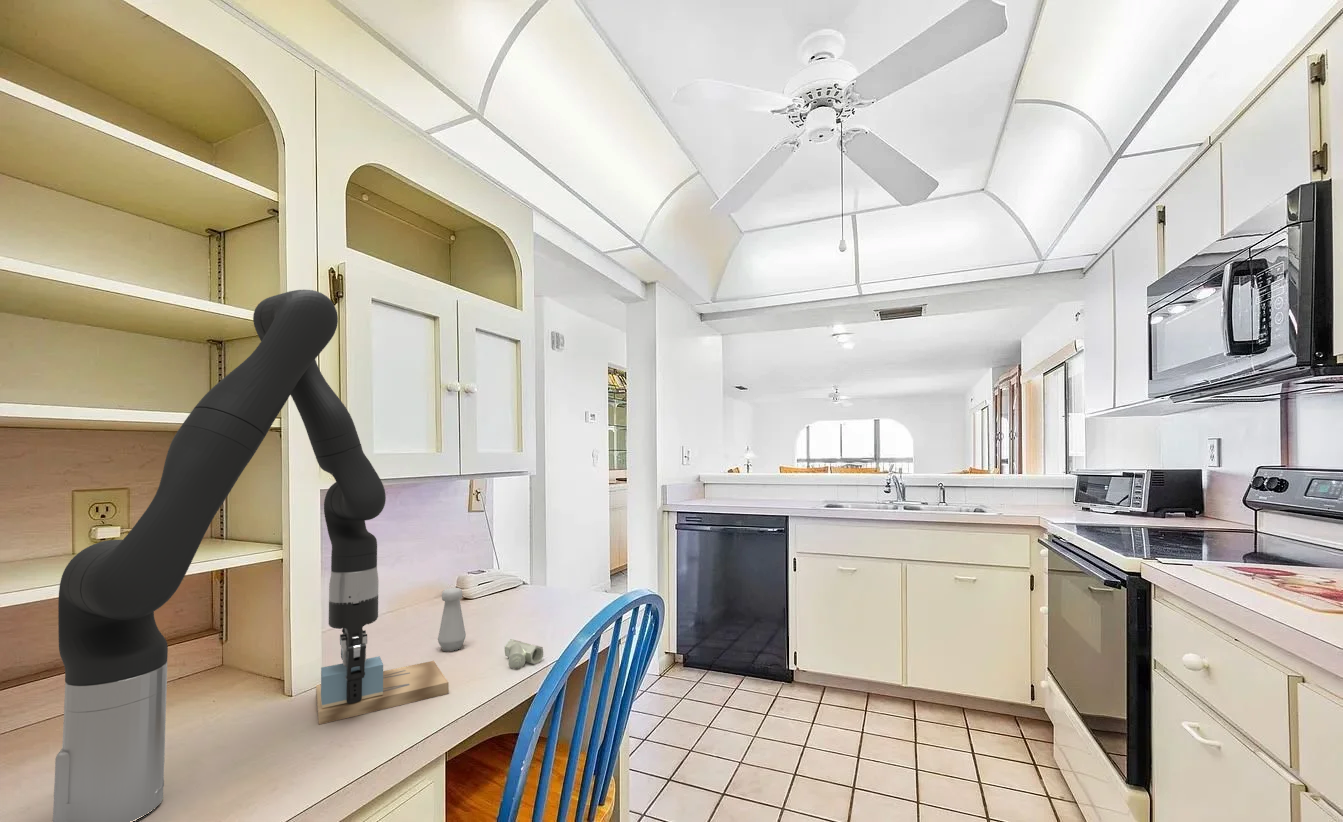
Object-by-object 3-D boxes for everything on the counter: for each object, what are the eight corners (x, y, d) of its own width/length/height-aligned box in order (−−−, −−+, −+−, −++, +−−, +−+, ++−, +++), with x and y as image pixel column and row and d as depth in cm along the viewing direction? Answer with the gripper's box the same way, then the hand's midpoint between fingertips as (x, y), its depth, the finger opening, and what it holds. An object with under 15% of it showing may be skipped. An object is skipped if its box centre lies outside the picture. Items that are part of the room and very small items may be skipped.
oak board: (318, 724, 93) (319, 711, 94) (316, 696, 104) (316, 684, 104) (448, 693, 104) (448, 682, 105) (433, 670, 115) (433, 660, 115)
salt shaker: (456, 653, 125) (456, 592, 126) (432, 652, 126) (432, 591, 127) (470, 644, 130) (470, 586, 131) (447, 643, 132) (447, 585, 132)
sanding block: (321, 708, 95) (322, 677, 95) (320, 697, 99) (321, 667, 99) (383, 694, 99) (383, 664, 100) (379, 684, 104) (379, 656, 104)
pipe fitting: (518, 674, 114) (544, 661, 120) (517, 655, 114) (542, 642, 120) (492, 667, 119) (517, 654, 124) (490, 648, 119) (516, 636, 124)
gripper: (326, 590, 104) (325, 687, 103) (331, 608, 92) (329, 718, 91) (373, 584, 108) (372, 677, 107) (383, 600, 96) (382, 705, 95)
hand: (352, 695), depth 99 cm, fingers closed on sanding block, 5 cm apart
